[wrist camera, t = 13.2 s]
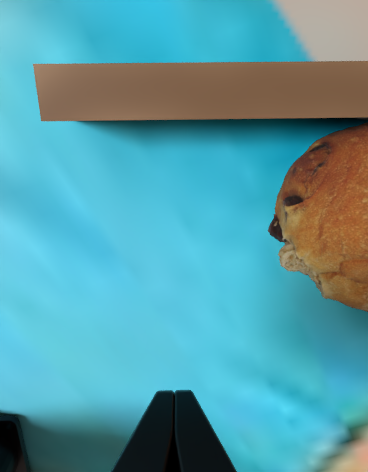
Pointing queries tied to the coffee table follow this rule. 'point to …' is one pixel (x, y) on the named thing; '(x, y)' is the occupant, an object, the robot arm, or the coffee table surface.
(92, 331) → the coffee table surface
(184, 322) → the coffee table surface
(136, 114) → the wall board
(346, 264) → the bread roll
